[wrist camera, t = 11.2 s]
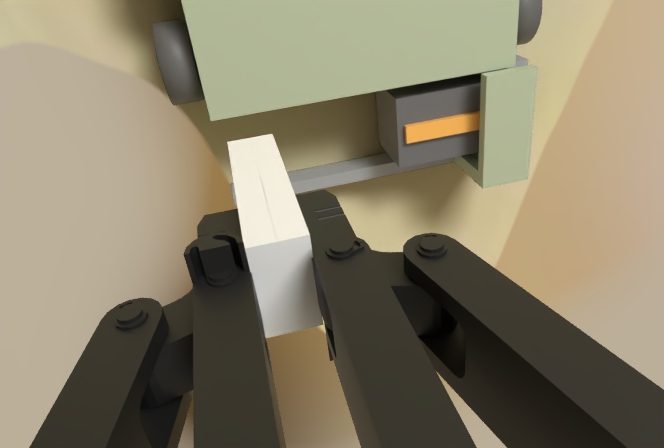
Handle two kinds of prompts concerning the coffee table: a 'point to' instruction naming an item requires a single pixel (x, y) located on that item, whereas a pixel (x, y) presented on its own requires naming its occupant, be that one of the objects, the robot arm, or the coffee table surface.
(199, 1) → the green wheeled box
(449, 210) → the coffee table surface
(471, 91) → the orange striped grey block
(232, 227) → the robot arm
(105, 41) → the coffee table surface
